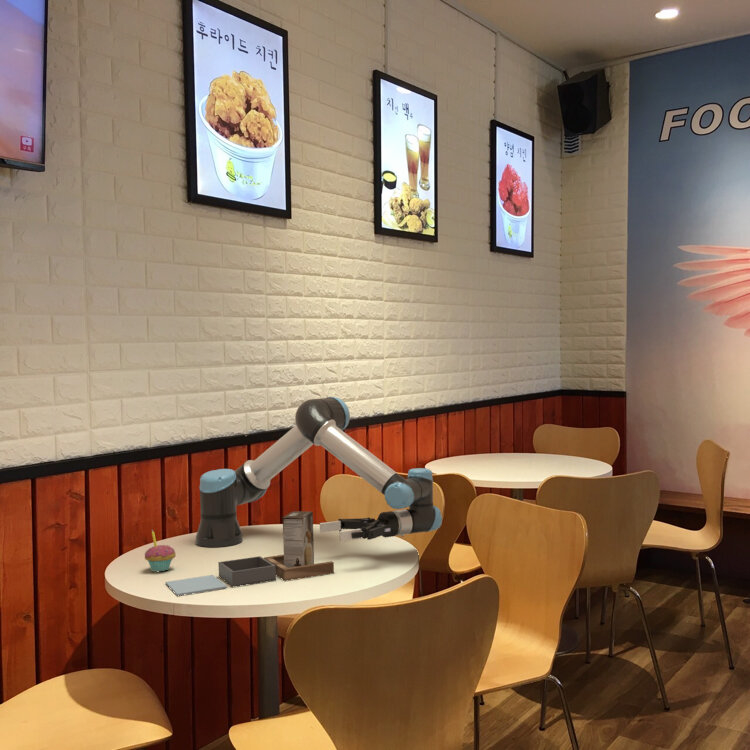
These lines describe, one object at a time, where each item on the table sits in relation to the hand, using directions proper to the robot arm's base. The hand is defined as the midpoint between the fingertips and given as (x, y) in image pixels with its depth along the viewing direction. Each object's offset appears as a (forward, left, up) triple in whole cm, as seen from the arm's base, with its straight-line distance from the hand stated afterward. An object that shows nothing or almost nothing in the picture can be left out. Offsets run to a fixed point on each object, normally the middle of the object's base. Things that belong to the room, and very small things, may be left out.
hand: (329, 532), depth 228 cm
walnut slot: (0, -10, -10) cm, 14 cm away
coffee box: (0, -10, -10) cm, 14 cm away
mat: (0, -39, -10) cm, 41 cm away
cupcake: (-22, -44, -10) cm, 50 cm away
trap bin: (0, -25, -10) cm, 27 cm away
